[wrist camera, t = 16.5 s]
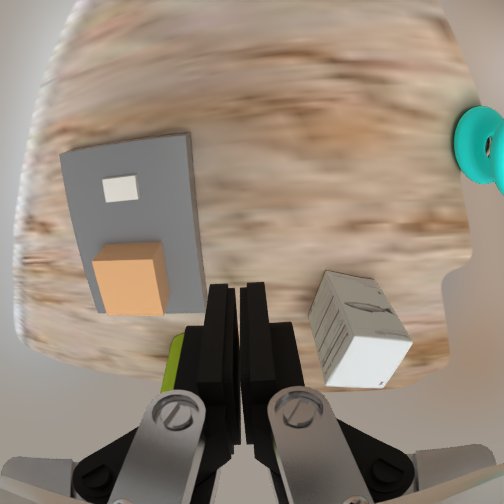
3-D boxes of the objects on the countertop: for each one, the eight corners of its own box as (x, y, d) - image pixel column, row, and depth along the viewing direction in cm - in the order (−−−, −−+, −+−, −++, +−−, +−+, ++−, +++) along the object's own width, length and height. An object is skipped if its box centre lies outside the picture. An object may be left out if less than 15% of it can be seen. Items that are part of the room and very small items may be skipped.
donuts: (519, 96, 19) (560, 145, 21) (464, 90, 28) (509, 129, 30) (490, 182, 24) (534, 219, 25) (438, 160, 32) (486, 192, 34)
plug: (114, 234, 35) (91, 261, 29) (166, 231, 35) (152, 259, 29) (124, 282, 38) (107, 314, 32) (174, 281, 38) (163, 315, 32)
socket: (72, 149, 31) (55, 155, 27) (190, 132, 31) (184, 136, 27) (105, 299, 40) (96, 316, 36) (207, 298, 40) (204, 316, 36)
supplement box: (375, 278, 39) (416, 342, 28) (354, 323, 42) (383, 390, 31) (324, 267, 38) (355, 335, 27) (305, 315, 41) (324, 388, 30)
